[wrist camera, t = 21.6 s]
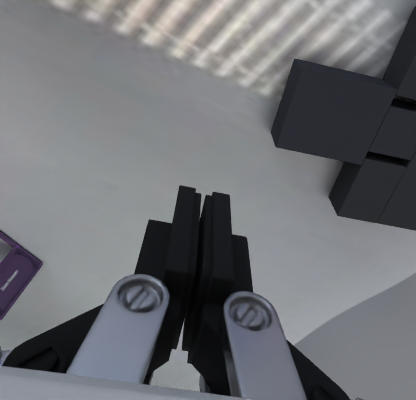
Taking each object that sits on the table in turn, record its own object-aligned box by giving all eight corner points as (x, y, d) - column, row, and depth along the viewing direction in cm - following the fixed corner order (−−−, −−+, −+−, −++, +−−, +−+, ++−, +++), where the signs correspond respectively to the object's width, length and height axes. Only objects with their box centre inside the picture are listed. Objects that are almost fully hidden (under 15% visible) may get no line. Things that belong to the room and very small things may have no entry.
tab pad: (294, 58, 28) (302, 67, 25) (424, 88, 29) (444, 100, 26) (270, 132, 31) (275, 147, 28) (388, 157, 32) (403, 174, 29)
